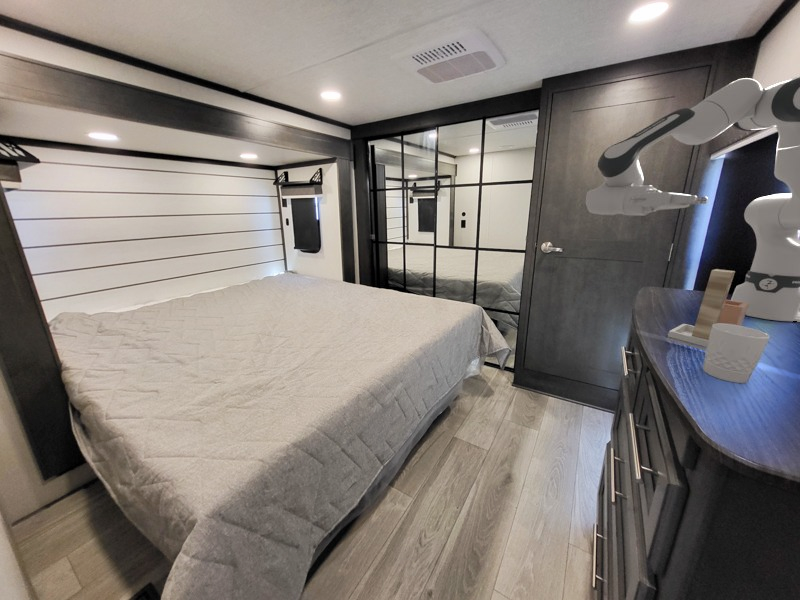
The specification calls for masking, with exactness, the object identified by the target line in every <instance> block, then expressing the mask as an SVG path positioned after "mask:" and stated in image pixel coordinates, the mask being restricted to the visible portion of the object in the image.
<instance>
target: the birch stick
mask: <svg viewBox="0 0 800 600" xmlns="http://www.w3.org/2000/svg"><path fill="white" fill-rule="evenodd" d="M735 273H736V271H735V270H727V269H719V268H715V269H711V271H710V275H709V279H708V281H707V285H706V287H705V290H704V294H703V297H702V302H701V304H700V308H699V311H698V313H697V314H698V315H697V318H696V321H695V324H694V326H695V327H694V330H693V333H692V336H694V337H698V338H701V339H705V340H709V336H710V333H711V329H712V325H713V324H717V323H718V322H719V319H720V316H721V313H722V310H723V307H724V304H725V301H726V299H727V297H728V294H729V291H730V288H731V285H732V282H733V279H734V276H735Z"/></svg>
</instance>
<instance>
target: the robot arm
mask: <svg viewBox="0 0 800 600" xmlns="http://www.w3.org/2000/svg"><path fill="white" fill-rule="evenodd" d="M730 127H732V128H733V129H735V130H737V131H739V132H740V131H741V132H755V131H757V130H765V129H769V128H773V127H774V128H775V129H776V130H777V133H778V139H777V144H776V154H775V163H774V171H773V174H774V177H775V178H776V179H777V180H779V181H781V182H783V183H784V184H785V185H787V187H788V188H789V191H790V192H789V193H774V194H771V195H766V196H761V197H758V198H756V199H753V200H752V201H751V202H750V203H748V205H747V206H746V208H745V210H744V213H743V217H744V220H745V223H747V224H748V225H749V226H750V227H751V228H752V230H753V232H754V234H755V239H756V250H755V252H754V257H753V259H752V264H751V266H750V270H748V271H747V273H746V274H745V279H744V282H743V283H741V284H738V285H736V287H734V291H733V293H732V296H731V299H730V300H732V301H738V302H744V303H749V306H748V309H747V311H746V314H745V316H748V317H753V318H756V319H757V318H758V319H764V320H772V321H780V322H793V321H797V322H796V323H800V289H799V288H800V239H799V231H800V76H797V77H794V78H792V79H789V80H785V81H782V82H778V83H775V84H773V85H770V86H768V87H766V88H763V87H762V85H761V84H760V82H759V81H757V80H755V79H753V78H750V77H749V78H748V77H745V78H744V77H743V78H738V79H737V80H734V81H732V82H730V83H729V84H727V85H725V86H723V87H721V88H720V89H718V90H717V91H715V92H713V93H712V94H711V95H709V96H707V97H705V99H703V100H702V101H700V102H699V103H697V104H696V105H695V106H692V107H691V108H688V107H687V108H685V107H684V108H680V109H676V110H674V111H672V112H670V113H667V115H664V116H663V117H661V118H660V119H658V120H656V121H655V122H653V123H651V124H649V125H648V126H646V127H644V128H643V129H641V130H639V131H638V132H636V133H634V134H633V135H631V136H629V137H627V138H626V139H624V140H622V141H620V142H617V143H615V144H612V145H611V146H609V147H608V148H606V149H605V150H604V152H603V153H602V154H601V156H600V157H599V159H598V161H597V168H598V170H599V171H600V173H601V175H602V177H603V179H604V182H602V184H601V185H598V186H597V187H596V188H593V189H590V190H588V191H587V193H586V195H585V197H584V198H585V199H584V205H585V208H586V210H587V211H588V212H589V213H590V214H593V215H594V214H595V215H603V216H616V215H624V216H647V215H649V214H650V213H655V212H657V211H662V210H663V211H665V210H674V209H676V210H677V209H683V208H684V209H686V208H688V207H689V208H690V206H691V205H701V204H702V205H705V204H707V203H708V201H709V197H708V196H697V195H692V194H686V193H678V192H669V191H661V190H659V189H658V188H655V187H654V186H653V185H652V184H648V185H647V184H645V185H644V181H645V177H644V173H643V169H642V167H641V165H640V161H639V158H640V156H641V154H642V152H643V151H644V150H646V149H648V148H651V147H652V146H653V145H655V144H657V143H658V142H660V141H662V140H663V139H665V138H667V137H669V136H672V137H673V139H675V140H676V141H678V142H679V143H682V144H685V145H689V146H696V145H698V146H699V145H702V144H705V143H707V142H709V141H711V140H712V139H714V138H716V137H718V136H719V135H720V134H722V133H723V132H725V131H726V130H727V129H729V128H730Z"/></svg>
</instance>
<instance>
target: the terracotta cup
mask: <svg viewBox="0 0 800 600" xmlns="http://www.w3.org/2000/svg"><path fill="white" fill-rule="evenodd" d="M748 306H749V303H744V302H738V301H732V300H731V299H727V298H726V301H725V304H724V307H723V310H722V313H721V316H720V319H719V322H718V323H723V324H733V325H739V326H743V322H744V320H745V318H746V317H745V316H746V315H745V314H746V311H747V309H748Z"/></svg>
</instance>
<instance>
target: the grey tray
mask: <svg viewBox="0 0 800 600" xmlns="http://www.w3.org/2000/svg"><path fill="white" fill-rule="evenodd" d="M694 327H695V325H691V324H688V323H687V324H686V323H682V324H680V325H678V326H675V328H672V329H670V330H668V334H667V336H666V341H670V342H673V343H677V344H681V345H684V346H686V347H687V346H688V347H690V348H694V349H697V350H698V349H699V350H702V351H705V352H706V349H707V344H708V340H705V339H701V338H698V337H694V336H692V333H693V330H694Z"/></svg>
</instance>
